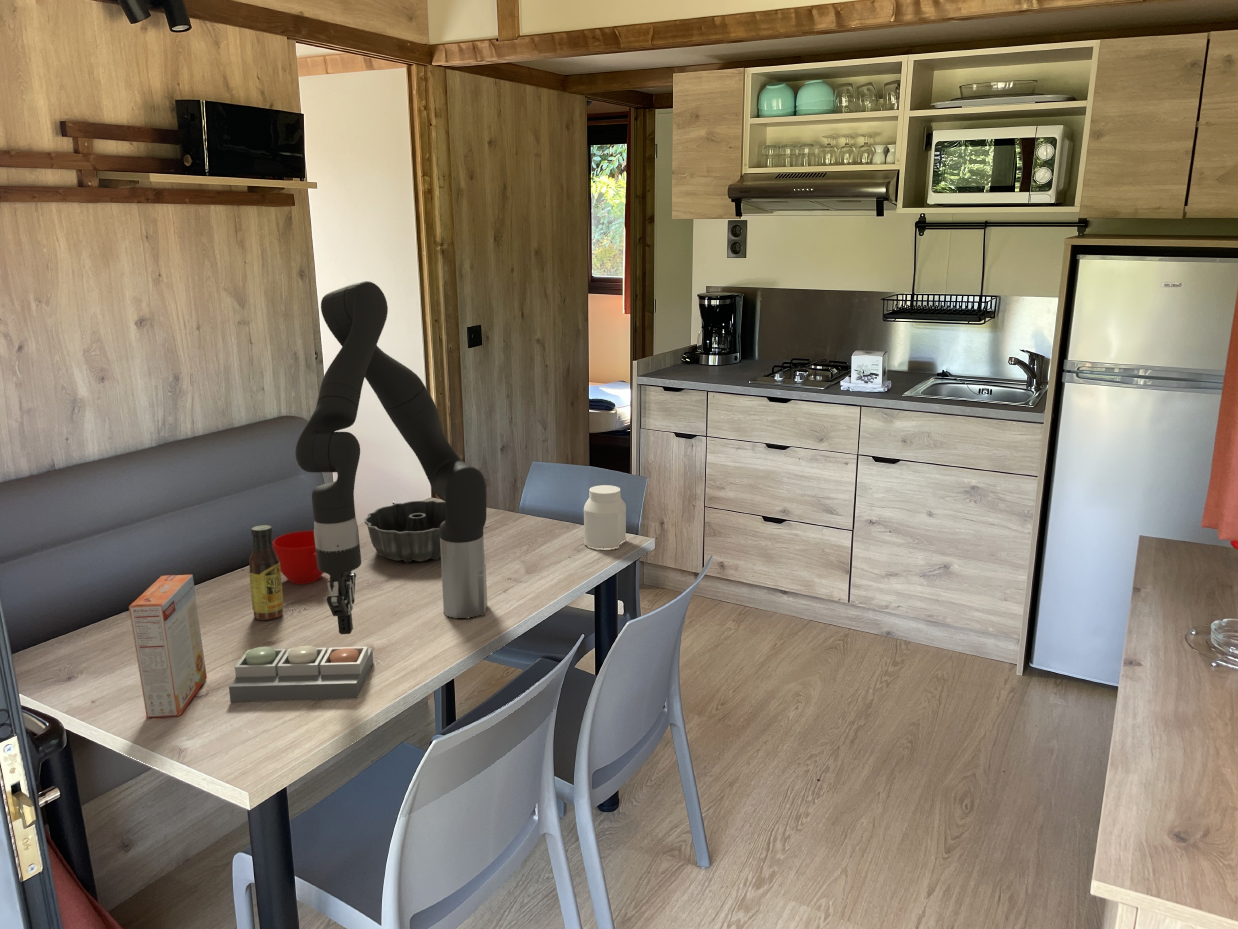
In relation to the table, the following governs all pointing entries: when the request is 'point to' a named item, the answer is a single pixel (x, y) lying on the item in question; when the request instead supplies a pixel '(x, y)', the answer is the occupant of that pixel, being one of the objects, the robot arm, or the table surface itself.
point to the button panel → (301, 678)
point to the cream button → (302, 655)
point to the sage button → (260, 656)
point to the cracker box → (168, 645)
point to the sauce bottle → (265, 576)
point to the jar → (604, 517)
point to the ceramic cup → (298, 557)
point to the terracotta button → (344, 656)
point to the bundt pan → (407, 530)
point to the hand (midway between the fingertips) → (346, 632)
